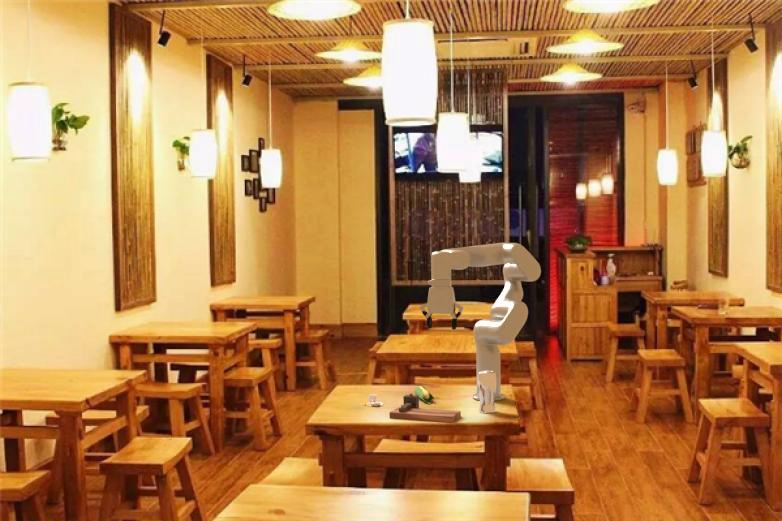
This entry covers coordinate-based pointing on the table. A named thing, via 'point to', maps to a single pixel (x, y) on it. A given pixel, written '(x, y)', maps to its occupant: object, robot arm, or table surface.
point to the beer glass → (487, 390)
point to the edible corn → (423, 394)
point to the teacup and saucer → (373, 400)
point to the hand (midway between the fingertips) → (442, 328)
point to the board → (426, 414)
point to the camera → (409, 402)
